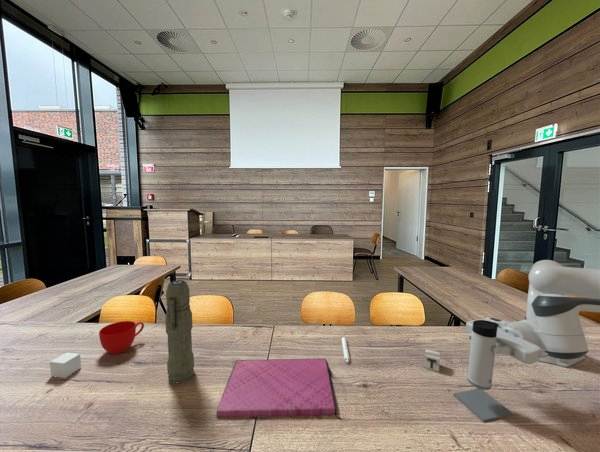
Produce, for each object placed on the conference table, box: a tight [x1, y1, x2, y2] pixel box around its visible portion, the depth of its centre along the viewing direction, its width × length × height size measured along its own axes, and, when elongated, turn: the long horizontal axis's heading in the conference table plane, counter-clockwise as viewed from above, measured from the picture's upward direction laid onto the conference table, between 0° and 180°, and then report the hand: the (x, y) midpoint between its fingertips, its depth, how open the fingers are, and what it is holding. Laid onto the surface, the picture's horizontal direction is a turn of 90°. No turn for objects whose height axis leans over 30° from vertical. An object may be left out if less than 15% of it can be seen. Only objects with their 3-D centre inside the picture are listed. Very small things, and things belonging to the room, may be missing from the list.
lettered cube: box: [423, 349, 441, 373], centre depth 103 cm, size 5×5×5 cm
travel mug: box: [466, 319, 499, 391], centre depth 82 cm, size 6×7×20 cm
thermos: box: [164, 279, 195, 384], centre depth 96 cm, size 9×12×35 cm
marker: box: [341, 336, 351, 364], centre depth 113 cm, size 18×2×2 cm, turn 176°
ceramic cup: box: [98, 320, 145, 355], centre depth 115 cm, size 13×17×10 cm
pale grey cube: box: [49, 352, 82, 379], centre depth 99 cm, size 6×6×6 cm
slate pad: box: [452, 388, 514, 423], centre depth 83 cm, size 11×11×1 cm
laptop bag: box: [215, 358, 348, 418], centre depth 92 cm, size 40×4×27 cm
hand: (481, 343), depth 82 cm, fingers closed on travel mug, 6 cm apart
